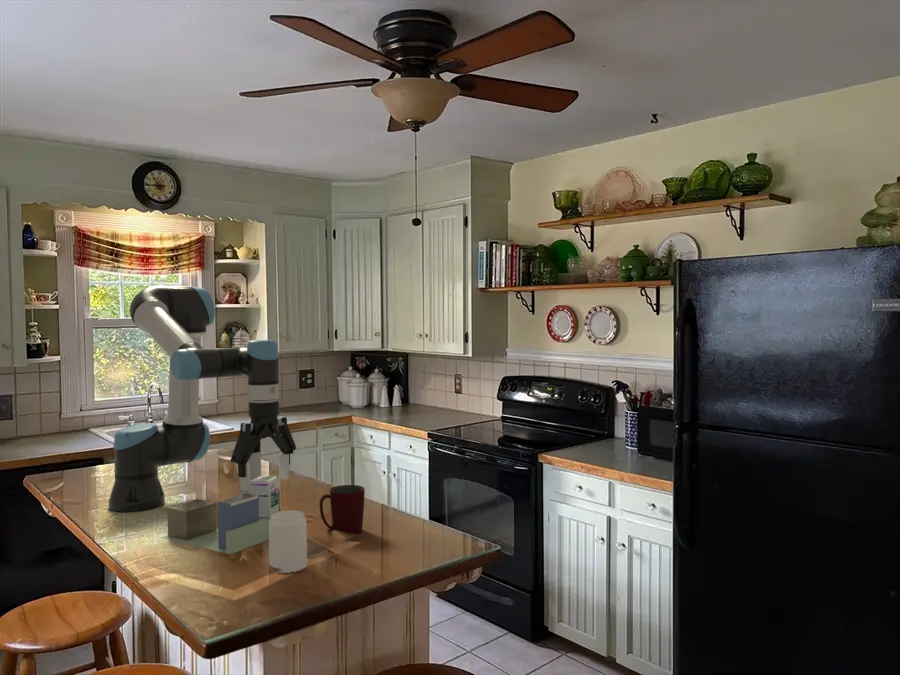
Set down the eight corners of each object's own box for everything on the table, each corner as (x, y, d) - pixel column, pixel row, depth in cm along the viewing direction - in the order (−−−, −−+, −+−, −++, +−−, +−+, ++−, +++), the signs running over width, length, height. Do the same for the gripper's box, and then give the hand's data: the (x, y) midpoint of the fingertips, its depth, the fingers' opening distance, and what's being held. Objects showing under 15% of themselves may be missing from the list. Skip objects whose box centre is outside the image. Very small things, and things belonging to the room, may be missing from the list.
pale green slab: (161, 543, 173) (160, 517, 173) (201, 530, 183) (200, 505, 183) (230, 560, 161) (229, 532, 160) (268, 545, 171) (268, 519, 171)
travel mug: (266, 506, 205) (265, 438, 205) (253, 512, 199) (252, 442, 198) (248, 504, 207) (247, 437, 207) (234, 510, 201) (233, 441, 200)
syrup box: (271, 538, 176) (270, 481, 176) (249, 537, 177) (248, 480, 177) (281, 531, 182) (280, 476, 181) (260, 530, 183) (259, 475, 183)
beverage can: (272, 562, 159) (271, 510, 159) (308, 561, 160) (308, 509, 160) (266, 576, 151) (265, 520, 151) (304, 574, 152) (303, 519, 151)
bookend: (167, 535, 174) (167, 507, 174) (197, 526, 182) (197, 499, 181) (186, 540, 170) (186, 511, 170) (216, 530, 178) (215, 502, 178)
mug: (328, 541, 174) (327, 497, 174) (313, 532, 181) (312, 489, 181) (371, 532, 181) (370, 490, 180) (355, 524, 188) (354, 483, 188)
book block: (218, 548, 165) (217, 501, 164) (247, 537, 172) (246, 493, 172) (230, 551, 163) (229, 504, 162) (259, 540, 170) (258, 495, 170)
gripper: (236, 407, 166) (238, 496, 166) (308, 396, 187) (310, 475, 188) (214, 405, 170) (216, 493, 170) (287, 395, 191) (289, 473, 192)
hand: (265, 484), depth 179 cm, fingers open, 13 cm apart
